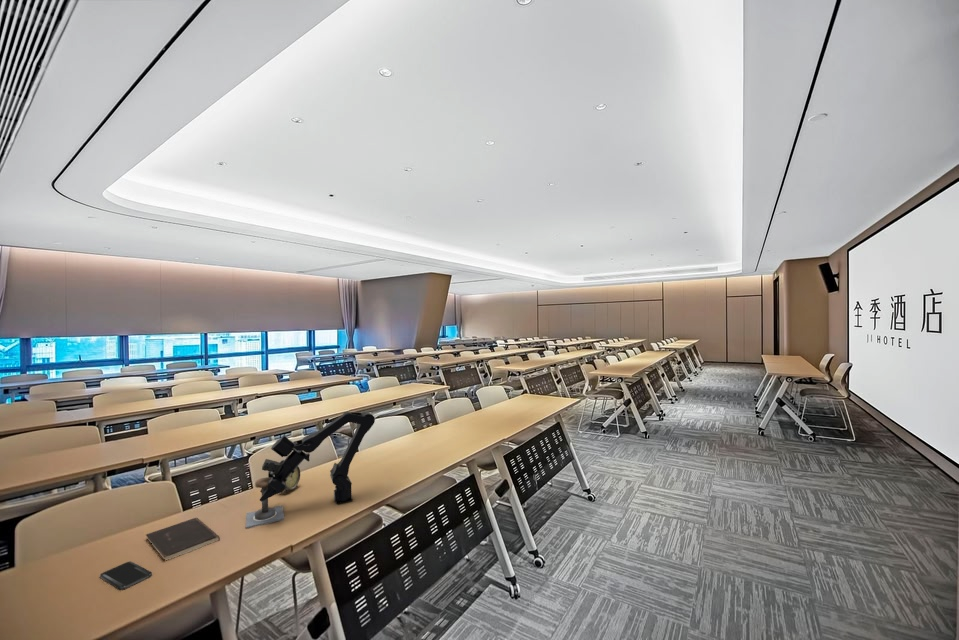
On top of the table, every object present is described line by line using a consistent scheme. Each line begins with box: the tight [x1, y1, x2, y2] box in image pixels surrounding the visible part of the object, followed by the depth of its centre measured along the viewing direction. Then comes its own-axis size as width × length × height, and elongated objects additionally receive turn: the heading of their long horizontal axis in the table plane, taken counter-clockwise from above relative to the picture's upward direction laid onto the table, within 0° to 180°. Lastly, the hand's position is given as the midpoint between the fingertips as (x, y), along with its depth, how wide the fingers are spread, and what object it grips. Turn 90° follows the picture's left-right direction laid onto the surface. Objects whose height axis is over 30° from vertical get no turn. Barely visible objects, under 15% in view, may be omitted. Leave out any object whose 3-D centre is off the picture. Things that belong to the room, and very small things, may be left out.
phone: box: [99, 560, 153, 591], centre depth 122 cm, size 8×1×15 cm
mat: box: [245, 505, 285, 529], centre depth 158 cm, size 13×13×1 cm
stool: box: [254, 476, 275, 520], centre depth 158 cm, size 7×7×14 cm
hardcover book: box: [145, 517, 221, 562], centre depth 143 cm, size 16×23×2 cm
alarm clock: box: [282, 455, 301, 496], centre depth 183 cm, size 11×5×16 cm, turn 168°
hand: (260, 496), depth 158 cm, fingers open, 9 cm apart
